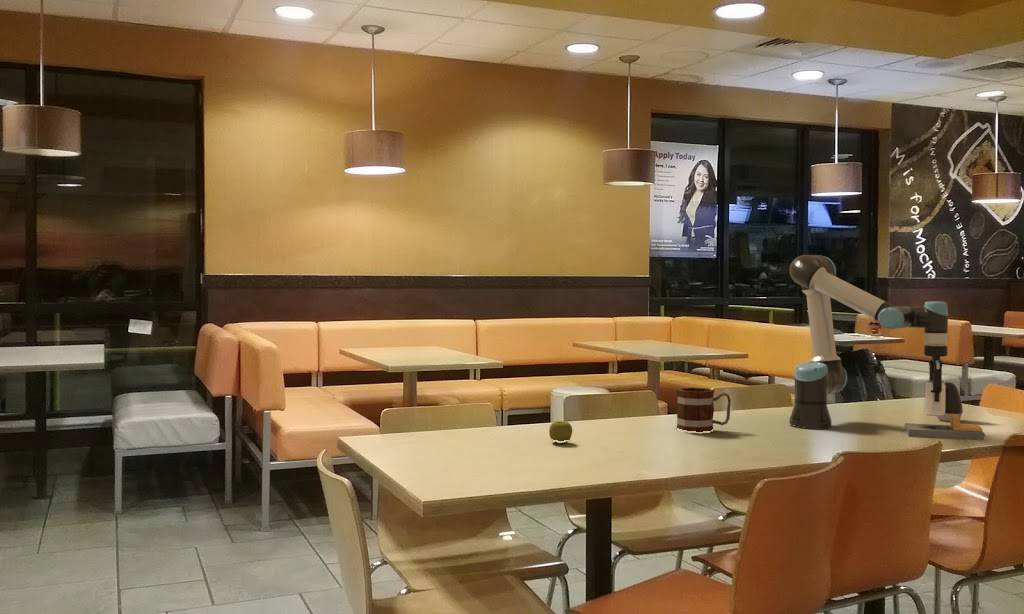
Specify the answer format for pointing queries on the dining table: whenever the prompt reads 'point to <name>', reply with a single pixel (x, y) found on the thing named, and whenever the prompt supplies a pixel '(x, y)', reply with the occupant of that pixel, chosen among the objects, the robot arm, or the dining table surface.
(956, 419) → the orange l-shaped block
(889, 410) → the dining table surface
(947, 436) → the socket plate
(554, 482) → the dining table surface
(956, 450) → the dining table surface
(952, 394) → the black rounded upright piece
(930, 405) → the can
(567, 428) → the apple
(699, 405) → the mug
